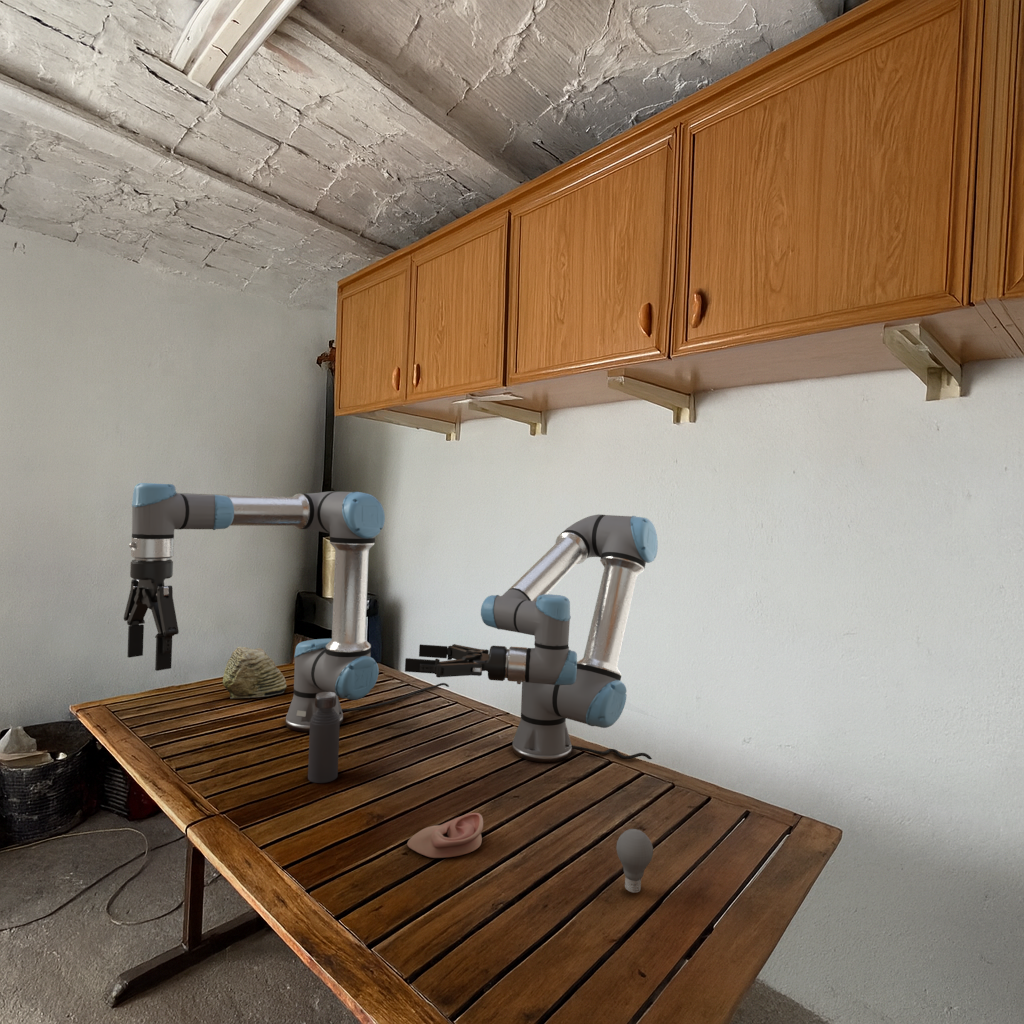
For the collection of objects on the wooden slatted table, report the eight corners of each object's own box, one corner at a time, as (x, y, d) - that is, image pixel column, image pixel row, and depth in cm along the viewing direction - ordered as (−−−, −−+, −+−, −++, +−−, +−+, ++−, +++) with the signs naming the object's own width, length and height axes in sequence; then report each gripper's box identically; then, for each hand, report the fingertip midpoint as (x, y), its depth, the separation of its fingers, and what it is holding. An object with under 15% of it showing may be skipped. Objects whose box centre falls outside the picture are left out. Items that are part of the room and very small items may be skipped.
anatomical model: (401, 831, 114) (423, 801, 125) (400, 853, 114) (422, 821, 125) (472, 842, 111) (488, 811, 122) (471, 864, 111) (487, 831, 122)
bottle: (329, 784, 139) (332, 702, 139) (302, 781, 141) (305, 699, 140) (342, 772, 146) (345, 693, 145) (316, 769, 147) (319, 691, 147)
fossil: (218, 695, 195) (220, 647, 195) (278, 685, 208) (279, 640, 207) (228, 703, 189) (230, 653, 188) (289, 692, 201) (290, 645, 201)
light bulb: (610, 879, 108) (613, 822, 108) (644, 879, 109) (647, 822, 109) (619, 902, 102) (622, 840, 102) (655, 901, 103) (658, 840, 103)
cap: (330, 709, 140) (330, 698, 140) (311, 707, 141) (311, 696, 141) (339, 703, 145) (339, 692, 145) (321, 701, 146) (321, 691, 145)
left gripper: (108, 554, 134) (104, 654, 134) (159, 565, 118) (155, 678, 119) (146, 552, 140) (143, 648, 140) (199, 563, 124) (195, 671, 124)
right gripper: (500, 697, 128) (397, 689, 130) (510, 666, 153) (423, 660, 155) (502, 660, 128) (399, 653, 130) (511, 635, 153) (425, 629, 155)
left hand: (148, 662), depth 129 cm, fingers open, 13 cm apart
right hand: (412, 657), depth 142 cm, fingers open, 13 cm apart
